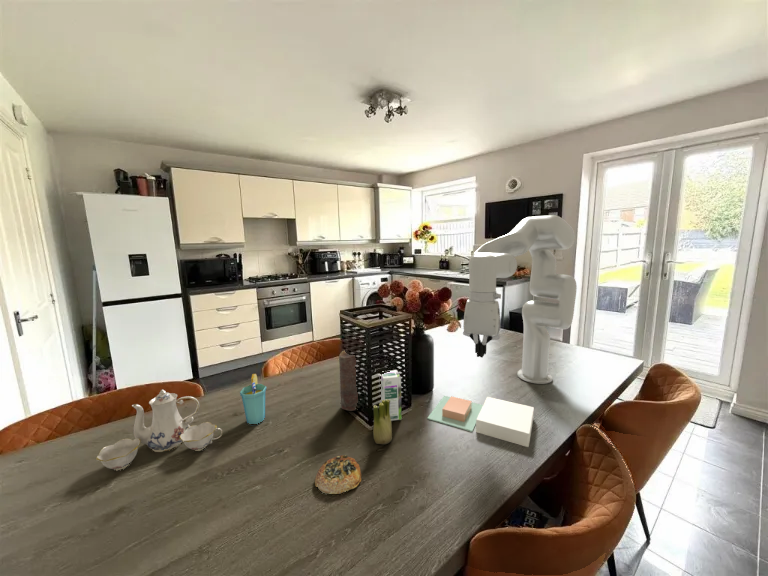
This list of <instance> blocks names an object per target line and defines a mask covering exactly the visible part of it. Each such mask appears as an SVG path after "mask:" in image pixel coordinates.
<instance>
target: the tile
mask: <svg viewBox="0 0 768 576" xmlns="http://www.w3.org/2000/svg"><path fill="white" fill-rule="evenodd" d="M449 397H450V399H449V400H448V401H447V403H446V404H445V406H444V407H443V409H442V416H444V417H447V418H451V419H455V420H458V421H462V422H465V420H466V418H467V416H468V414H469V412H470V410H471V408H472V402H473V401H472V400H468V399H465V398H460V397H455V396H453V395H451V396H449Z"/></svg>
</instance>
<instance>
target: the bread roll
mask: <svg viewBox="0 0 768 576" xmlns="http://www.w3.org/2000/svg"><path fill="white" fill-rule="evenodd" d="M361 482H362V471H361V467H360V464H359V463H358V462H357V461H356V459H355V458H353V457H351V456H348V455H347V454H344V455H343V454H341V455H337V456H335V457H331V458H329V459H328V460H326V461H325V462H324V463H322V465H321V466H320V467H319V469H318V470H317V473H316V475H315V479H314V485H315V487H318V488H319V489H320V490H321V491H323V492H325V493H329V494H339V493H342V492H346V491H347V492H349V491H350V490H353V489H355V488H357V487H358V486H359V484H360V483H361ZM347 492H346V493H347Z"/></svg>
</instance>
